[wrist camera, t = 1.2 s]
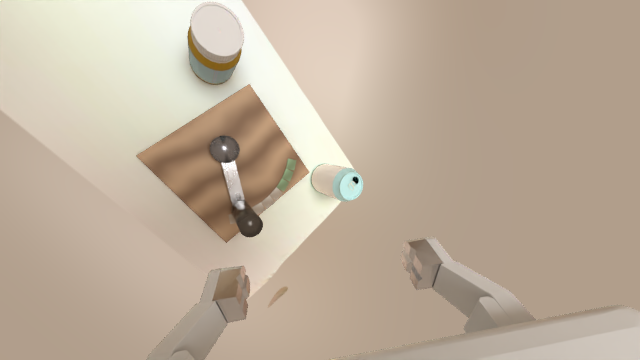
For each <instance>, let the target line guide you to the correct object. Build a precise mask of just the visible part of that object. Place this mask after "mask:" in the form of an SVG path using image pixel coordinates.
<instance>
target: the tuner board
mask: <svg viewBox="0 0 640 360" xmlns="http://www.w3.org/2000/svg"><path fill="white" fill-rule="evenodd" d="M223 135H224V136H230V137H232V138H233V139H235V140H236V141H237V143H238V145H239V148H240V152H239V155H238V157H237V158H236V159H235V163H236V167H237V171H238V175H239V179H240V183H241V187H242V191H243V195H244V199H245V202H247V203H248V204H249V205H250V207H251V208H252V209H253V210H254V211H255V213H256V214H257V215H258V216H259V215H260V214H261V213H262V212H263V211H265V210H266V209H267V208H269V207H270V206H271V205H272V204H273V203H274V202H275V201H277V199H279V198H280V197H281V196H282V195H283V194H285V193H286V192H287V191H288V190H289V189H290V188H292V187H293V186H294V185H295V184H296V183H298V182H299V181H300V180H301V179H302V178H303V177H305V176H306V175H307V174H308V173H309V171H308V170H307V168H306V167H305V165H304V164H303V162H302V161H301V159H300V158H299V156H298V155H297V153H296V152H295V150H294V149H293V148H292V146H291V145H290V143H289V142H288V140H287V139H286V137H285V136H284V134H283V133H282V131H281V130H280V128H279V127H278V125H277V124H276V122H275V121H274V120H273V118H272V117H271V115H270V114H269V112H268V111H267V109H266V108H265V106H264V105H263V103H262V102H261V100H260V99H259V97H258V96H257V95H256V93H255V92H254V90H253V89H252V87H251V86H250V84H249V85H247V86H246V87H244V88H242V89H241V90H239V91H238V92H236V93H235V94H233V95H231V96H230V97H228V98H227V99H225V100H224V101H222V102H220V103H219V104H217V105H216V106H214V107H212V108H211V109H209V110H208V111H206V112H205V113H203V114H201V115H200V116H198V117H197V118H195V119H193V120H192V121H190V122H189V123H187V124H186V125H184V126H182V127H181V128H179V129H178V130H176V131H175V132H173V133H171V134H170V135H168V136H167V137H165V138H163V139H162V140H160V141H159V142H157V143H156V144H154V145H152V146H151V147H149V148H148V149H146V150H145V151H143V152H141V153H140V154H138V155H137V157H138V158H139V159H140V160H141V161H142V162H143V163H144V164H145V165H146V166H147V167H148V168H149V169H150V170H151V171H152V172H153V173H154V174H155V175H156V176H157V177H159V178H160V179H161V180H162V181H163V182H164V183H165V184H166V185H167V186H168V187H169V188H170V189H171V190H172V191H173V192H174V193H175V194H176V195H177V196H178V197H179V198H180V199H181V200H182V201H183V202H184V203H185V204H187V205H188V206H189V207H190V208H191V209H192V210H193V211H194V212H195V213H196V214H197V215H198V216H199V217H200V218H201V219H202V220H203V221H204V222H205V223H206V224H207V225H208V226H209V227H210V228H211V229H212V230H214V231H215V232H216V233H217V234H218V235H219V236H220V237H221V238H222V239H223V240H224V241H225V242H226V243H227V242H228V241H229V240H230V239H231V238H233V237H234V236H235V235H236V234H237V233H239V232H240V230H239V228H238V226H237V224H236V222H235V220H234V218H233V216H232V213H231V208H232V203H231V199H230V195H229V192H228V188H227V184H226V180H225V177H224V173H223V169H222V166H221V162H218V161H217V160H215V159H214V158H213V157H212V155H211V153H210V149H209V148H210V143H211V142H212V140H213V139H214V138H216V137H218V136H223Z"/></svg>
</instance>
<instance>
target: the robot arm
mask: <svg viewBox="0 0 640 360" xmlns="http://www.w3.org/2000/svg"><path fill="white" fill-rule="evenodd" d="M403 247H404V250H403V251H402V254H401V259H402V264H403V266H404V268H405V270H406V271H407V272H409V273H410V280H411V281H412V283H413V285H414V287H415V289H416V290H419V289H427V288H433V289H434V290H435V291H436V292H438V293H439V294H440V295H441V296H443V297H444V298H445V299H446V300H447V301H449V302H450V303H451V304H452V305H454V306H455V307H456V308H457V309H458V310H460V311H461V312H462V313H463V314H465V315H466V316H467V317H468V318H469V319H468V320H467V322H466V324H465V326H464V330H465V332H466V333H465V334H460V335H455V336H449V337H444V338H439V339H434V340H429V341H423V342H418V343H413V344H408V345H402V346H397V347H392V348H387V349H381V350H376V351H371V352H366V353H361V354H355V355H350V356H345V357H340V358H334V359H329V360H640V311H638V310H636V309H633V308H630V307H628V306H624V305H611V306H606V307H601V308H596V309H591V310H585V311H580V312H575V313H570V314H564V315H559V316H555V317H549V318H544V319H538V320H536V319H535V318H534V317H533V316H532V315H531V314H530V313H529V312H528V311H527V309H526V308H525V307H524V306H523V305H522V304H521V303H520V302H519V301H518V300H517V299H516V297H515V296H514V295H513V294H512V293H511V292H510V291H508V290H507V289H505V288H503V287H501V286H500V285H498V284H496V283H494V282H493V281H491V280H489V279H487V278H485V277H484V276H482V275H480V274H478V273H476V272H475V271H473V270H471V269H469V268H468V267H466V266H464V265H462V264H460V263H459V262H454V261H453V260H452V259H451V257H450V256H449V255H448V254H447V252H446V251H445V250H444V248H443V247H442V246H441V245H440V243H439V242H438V241H437V239H436V238H435V237H428V238H420V239H414V240H408V241H405V242H404V243H403ZM245 272H246V270H245V267H244V266H239V267H231V268H223V269H216V270H211V271H210V273H209V275H208V278H207V281H206V284H205V287H204V290H203V293H202V296H201V299H200V302H199V304H195V306H194V307H193V308H192V309H191V310H190V311H189V312H188V313H187V314H186V315H185V316H184V317H183V319H182V320H181V321H180V322H179V323H178V324H177V325H176V326H175V327H174V329H172V330H171V331H170V333H169V334H168V335H167V336H166V337H165V338H164V339H163V340H162V341H161V342H160V343H159V344H158V345H157V347H156V348H155V349H154V350H153V351H152V352H151V353H150V354H149V355H148V357H147V359H146V360H204V359H205V358H206V356H207V355H208V353H209V352H210V350H211V349H212V347H213V346H214V344H215V343H216V341H217V339H218V338H219V336H220V335H221V333H222V332H223V330H224V329H225V327H226V326H227V323H229V322H234V321H239V320H244V319H246V315H247V308H248V304H247V301H246V299H247V298H248V297H249V293H250V282H249V278H248V276H247V275H245Z"/></svg>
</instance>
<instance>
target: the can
mask: <svg viewBox="0 0 640 360" xmlns="http://www.w3.org/2000/svg"><path fill="white" fill-rule="evenodd" d="M312 184H313V187H314V188H315V189H316V190H317V191H318V192H321V193H323V194H326V195H328V196H331V197H333V198H335V199H338V200H340V201H350V200H354V199H356V198H357V197H358V196H359V195H360V194H361V192H362V189H363V180H362V178H361V176H360V175H359V174H358V173H357V172H356V171H355V170H354V169H351V168H346V167H340V166H334V165H329V164H322V165H320V166H318V167H317V168H316V169H315V170H314V172H313V174H312Z"/></svg>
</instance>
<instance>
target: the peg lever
mask: <svg viewBox="0 0 640 360" xmlns="http://www.w3.org/2000/svg"><path fill="white" fill-rule="evenodd" d="M209 149H210V153H211V155H212V157H213V158H214V159H215V160H217V161H218V162H221V166H222V169H223V173H224V177H225V180H226V184H227V188H228V192H229V195H230V199H231V203H232V208H231V213H232V216H233V218H234V220H235V222H236V224H237V226H238V228H239V230H240V232H241V234H242V235H244V236H246V237H254V236H256V235H257V234H259V233H260V231H261V230H262V227H263V223H262V220H261V219H260V217H259V216H258V215H257V214H256V213H255V211H254V210H253V209H252V208H251V207H250V205H249V204H248V203H247V202H245V199H244V195H243V191H242V187H241V183H240V179H239V175H238V171H237V167H236V163H235V159H236V158H237V157H238V155H239V152H240V148H239V145H238V143H237V141H236V140H235V139H233V138H232V137H230V136H224V135H223V136H218V137H216V138H214V139H213V140H212V142H211V143H210V148H209Z"/></svg>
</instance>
